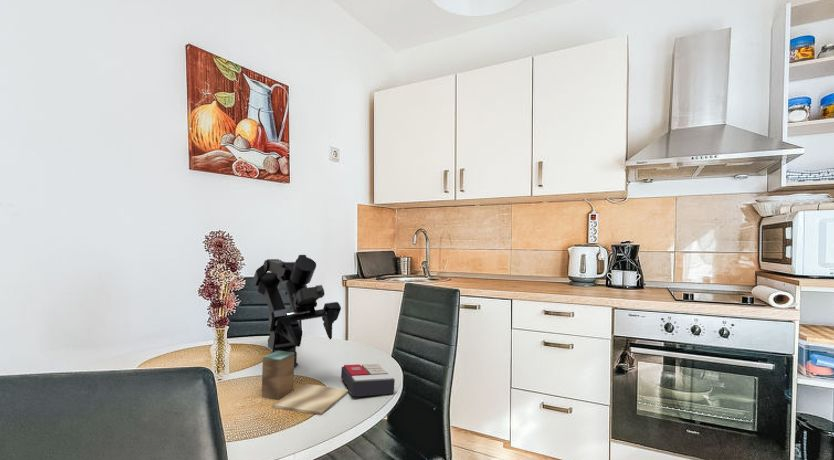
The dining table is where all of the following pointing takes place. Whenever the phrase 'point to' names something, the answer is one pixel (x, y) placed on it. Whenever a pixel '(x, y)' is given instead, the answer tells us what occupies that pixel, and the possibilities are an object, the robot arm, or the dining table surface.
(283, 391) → the walnut block
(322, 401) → the beige cloth
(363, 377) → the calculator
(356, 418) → the dining table surface
